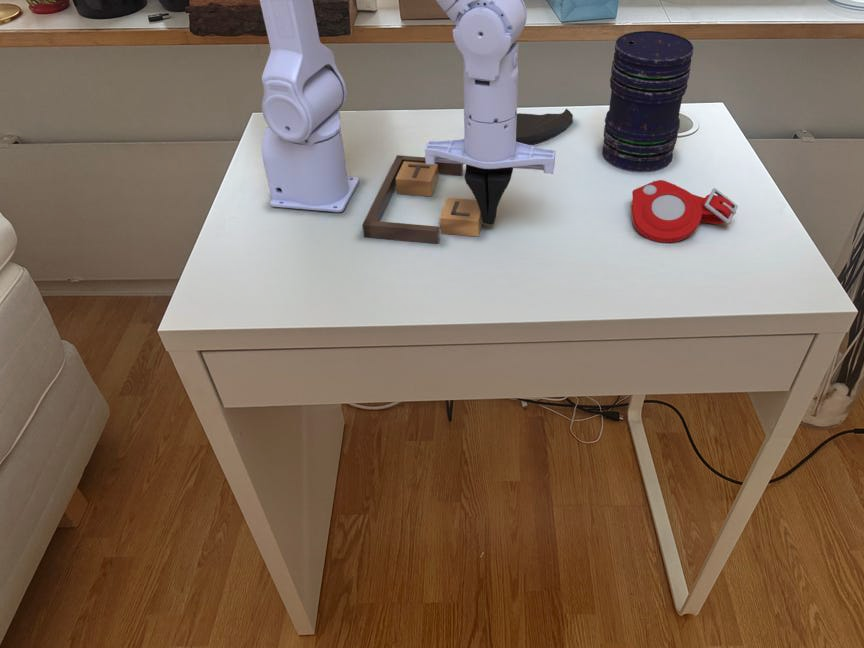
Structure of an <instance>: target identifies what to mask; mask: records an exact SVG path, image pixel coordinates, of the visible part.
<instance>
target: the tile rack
mask: <svg viewBox="0 0 864 648" xmlns="http://www.w3.org/2000/svg"><path fill="white" fill-rule="evenodd" d="M404 161H406V162H419V163H426V161H425V156H412V155H401V154H400V155H399V154H397V155H396V156H395V158H394V160H393V162H392V164H391V166H390V168H389V170H388V173H387V174H386V176H385V178H384V180H383V182H382V184H381V186H380V187H379V191H378V193H377V195H376V196H375V198H374V200H373V203H372V205H371V206H370V208H369V210H368V212H367V215H366V216H365V218H364V221H363V223H362V232H363V237H364V238H368V239H369V238H370V239H378V240H379V239H380V240H391V241H402V242H413V243H422V244H423V243H424V244H435V245H438V244H439V242H440V226H438V225H437V226H436V225H425V224H416V223H415V224H414V223H404V222H403V223H402V222H391V221H381V220H382V217H383V216H384V214H385V211H386V209H387V207H388V205H389V202H390V200H391V199H392V196H393V194H394V192H395V190H396V177H397V175H398V173H399V170H400V168H401V166H402V164H403V162H404ZM435 164H438V175H445V176H446V175H447V176H459V177H462V176H463V174H464V164H456V163H443V162H436V163H435Z"/></svg>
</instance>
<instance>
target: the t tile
mask: <svg viewBox="0 0 864 648" xmlns="http://www.w3.org/2000/svg"><path fill="white" fill-rule="evenodd" d="M438 181H439V174H438V164H434V165H431V164H426V163H419V162H406V161H404V162H403V164H402V166H401V168H400V170H399V173H398V175H397V177H396V188H395V190H396V194H397V195H407V196H408V195H409V196H419V197H433V194H434V192H435V189H436V187H437V184H438Z"/></svg>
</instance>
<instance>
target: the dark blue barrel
mask: <svg viewBox="0 0 864 648" xmlns="http://www.w3.org/2000/svg"><path fill="white" fill-rule="evenodd" d="M694 47H695V46H694V44H693V43H692V42H691V40H688V39H687V38H685V37H684V36H681V35H678V34H675V33H670V32H667V31H657V30H639V31H632V32H628V33H624V34H622V35H620V36H619V37H617V39H616V40H615V45H614V53H613V60H612V62H611V70H610V73H611V75H610V78H609V87H610V89H611V92H610V99H609V106H608V107H609V109H608V111H607V112H606V114H605V118H604V127H603V145H602V151H601V155H602V158H603V159H604V160H605V162H607V163H608V164H610V165H611V166H613V167H615V168H617V169H621V170H623V171H628V172H634V173H650V172H651V173H652V172H656V171H660V170H662V169H665V168H666V167H669V165H670V164H671V163H672V162H673V157H674V151H675V146H676V145H677V141H678V136H679V130H680V127H681V125H680V124H681V119H680V117H679V116H680V112H681V106H682V101H683V96H684V95H685V94H686V91H687V90H688V82H689V78H690V74H691V64H692V58H693V53H694V49H695V48H694Z"/></svg>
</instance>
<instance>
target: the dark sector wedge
mask: <svg viewBox="0 0 864 648" xmlns="http://www.w3.org/2000/svg"><path fill="white" fill-rule="evenodd" d="M573 121H574V115H573V113H572V112H571V111H570V110H569V109H568V108H565V109H564V111H563V112H560V113H544V114H534V113H518V112H517V121H516V142H519V143H523V144H527V145H530V146H534V145H537V144H540V143H543V142H546V141H548V140H550V139H552V138H554V137H556V136H558V135H559V134H561V133H562V132H564V131H565V130H567V128H569V127H570V125H571V124H572V123H573Z"/></svg>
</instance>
